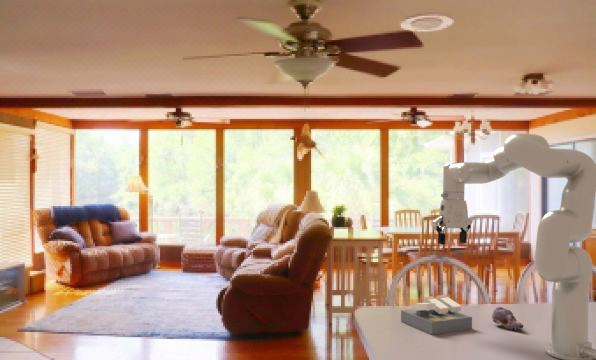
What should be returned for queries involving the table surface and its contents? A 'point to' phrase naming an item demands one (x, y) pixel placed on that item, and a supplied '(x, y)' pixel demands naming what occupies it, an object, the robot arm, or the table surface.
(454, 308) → the rocker
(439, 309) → the rocker
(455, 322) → the switch unit
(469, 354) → the table surface
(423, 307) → the block
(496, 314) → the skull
